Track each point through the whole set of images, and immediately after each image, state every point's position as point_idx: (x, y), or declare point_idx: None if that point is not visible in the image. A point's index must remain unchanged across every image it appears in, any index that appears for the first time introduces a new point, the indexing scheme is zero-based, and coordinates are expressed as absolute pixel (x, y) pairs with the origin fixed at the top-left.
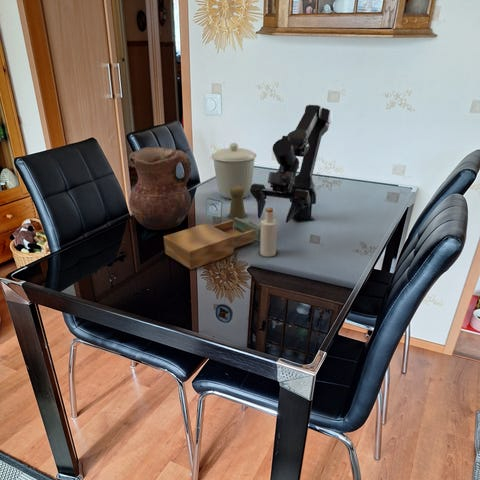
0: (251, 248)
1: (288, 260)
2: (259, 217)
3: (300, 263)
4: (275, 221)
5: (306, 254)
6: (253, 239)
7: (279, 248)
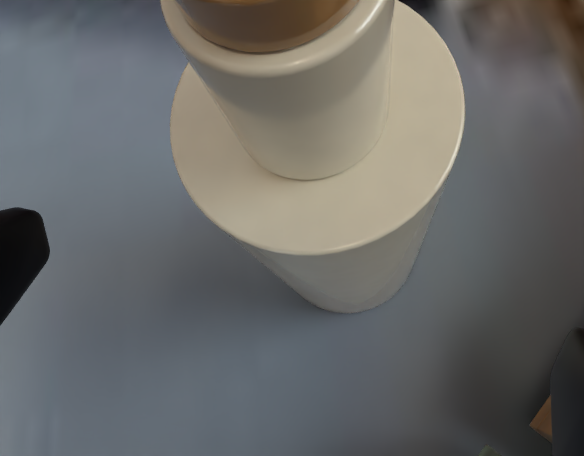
0: (521, 314)
1: None
2: (561, 353)
3: (92, 136)
4: (198, 143)
5: (46, 289)
6: (546, 412)
7: (262, 363)
